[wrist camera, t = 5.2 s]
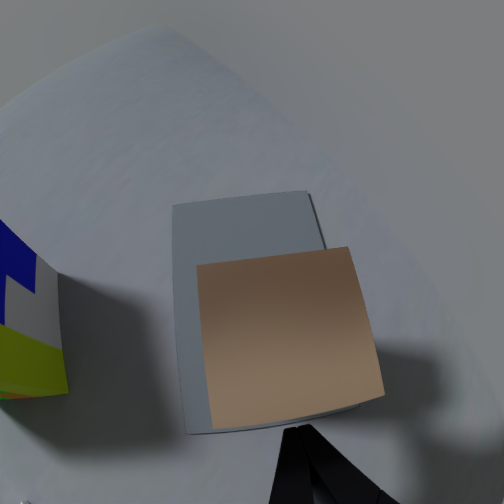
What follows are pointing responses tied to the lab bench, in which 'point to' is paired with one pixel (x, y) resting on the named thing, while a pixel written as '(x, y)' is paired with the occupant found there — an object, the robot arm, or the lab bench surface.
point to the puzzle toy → (28, 323)
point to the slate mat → (222, 250)
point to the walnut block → (285, 337)
